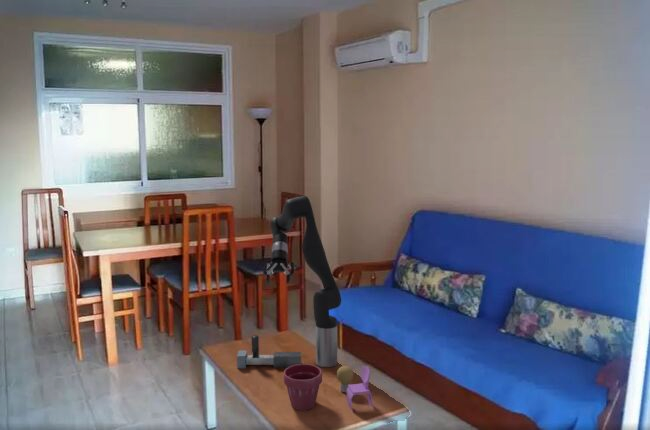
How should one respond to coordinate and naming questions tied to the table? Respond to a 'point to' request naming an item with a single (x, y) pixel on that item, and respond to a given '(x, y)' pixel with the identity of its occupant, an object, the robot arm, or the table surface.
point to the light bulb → (344, 377)
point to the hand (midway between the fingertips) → (278, 283)
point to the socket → (241, 359)
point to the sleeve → (286, 359)
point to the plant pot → (303, 385)
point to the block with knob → (255, 357)
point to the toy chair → (360, 387)
